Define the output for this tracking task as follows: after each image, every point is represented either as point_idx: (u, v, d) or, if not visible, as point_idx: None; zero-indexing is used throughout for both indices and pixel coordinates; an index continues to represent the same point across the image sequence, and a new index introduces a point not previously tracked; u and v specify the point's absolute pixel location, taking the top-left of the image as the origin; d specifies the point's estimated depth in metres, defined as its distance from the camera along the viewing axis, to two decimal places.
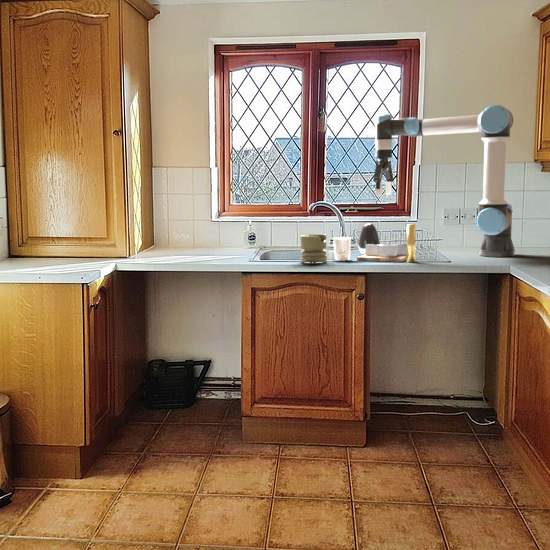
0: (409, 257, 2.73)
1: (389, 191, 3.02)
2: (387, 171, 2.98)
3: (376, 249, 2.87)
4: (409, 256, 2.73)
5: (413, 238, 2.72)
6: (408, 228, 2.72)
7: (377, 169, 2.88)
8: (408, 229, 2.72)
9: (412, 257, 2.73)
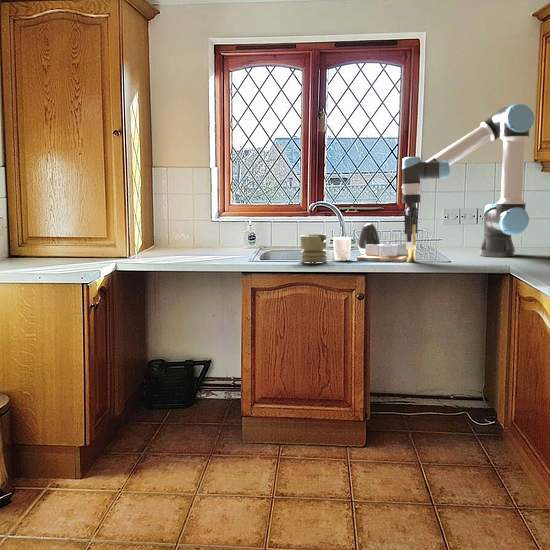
0: (409, 257, 2.73)
1: None
2: (413, 218, 2.74)
3: (376, 249, 2.87)
4: (409, 256, 2.73)
5: (413, 238, 2.72)
6: None
7: (407, 220, 2.68)
8: None
9: (412, 257, 2.73)
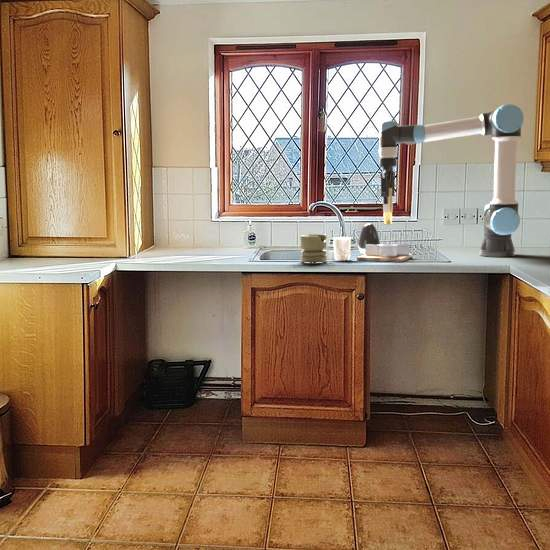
0: (386, 219, 2.81)
1: None
2: (390, 182, 2.81)
3: (376, 249, 2.87)
4: (386, 218, 2.81)
5: (390, 201, 2.80)
6: None
7: (383, 183, 2.75)
8: None
9: (389, 220, 2.81)
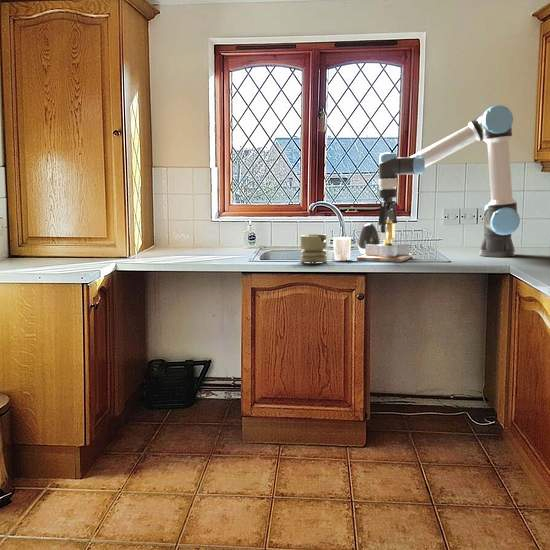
0: None
1: (392, 233, 2.88)
2: (391, 211, 2.85)
3: (376, 249, 2.87)
4: None
5: (390, 233, 2.82)
6: None
7: (382, 211, 2.76)
8: None
9: None
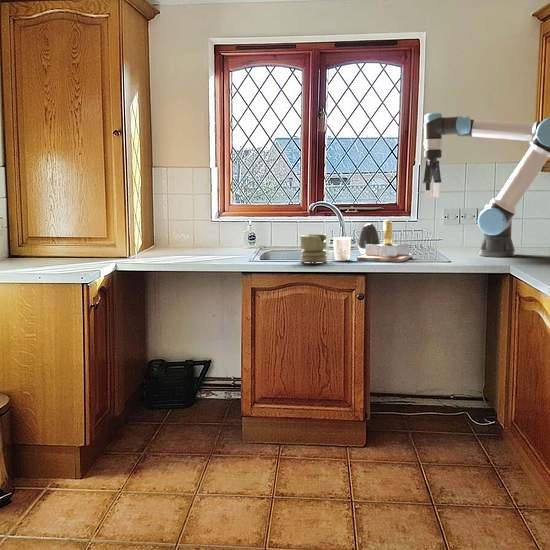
0: None
1: (437, 192, 2.91)
2: (435, 172, 2.87)
3: (376, 249, 2.87)
4: None
5: (390, 233, 2.82)
6: (385, 224, 2.82)
7: (427, 169, 2.77)
8: (385, 224, 2.82)
9: None
